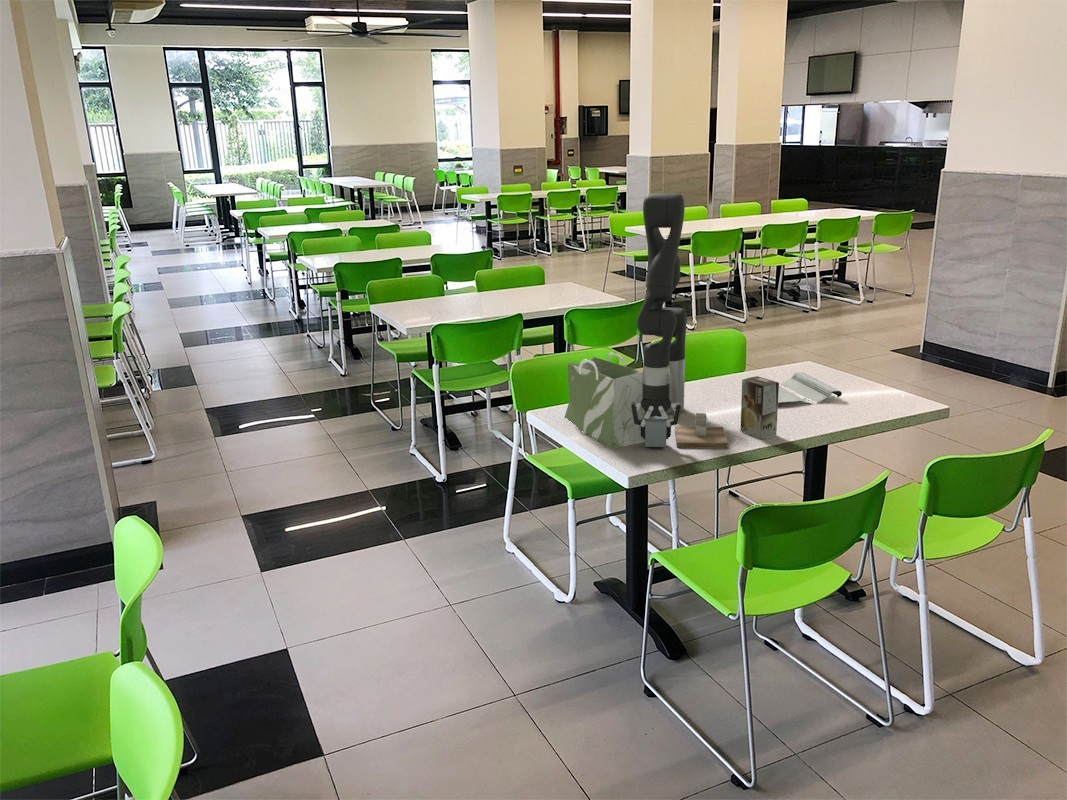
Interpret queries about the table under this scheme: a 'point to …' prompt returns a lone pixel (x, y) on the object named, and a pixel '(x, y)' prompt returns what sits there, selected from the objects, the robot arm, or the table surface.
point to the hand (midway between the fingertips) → (655, 438)
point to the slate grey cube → (655, 432)
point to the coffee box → (759, 407)
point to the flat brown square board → (700, 435)
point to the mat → (805, 389)
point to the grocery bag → (605, 400)
